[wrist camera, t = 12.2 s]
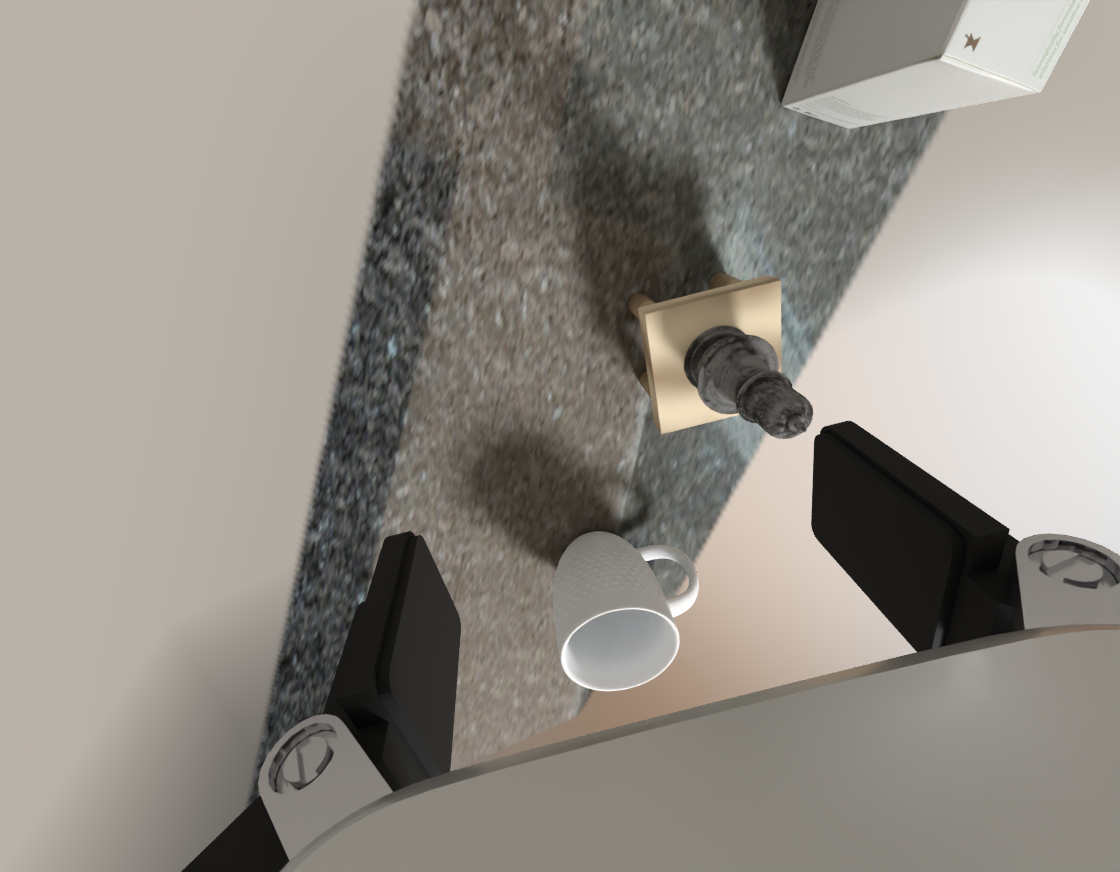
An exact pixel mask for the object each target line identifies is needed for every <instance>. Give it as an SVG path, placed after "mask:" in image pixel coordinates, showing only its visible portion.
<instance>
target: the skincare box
mask: <svg viewBox="0 0 1120 872" xmlns="http://www.w3.org/2000/svg"><path fill="white" fill-rule="evenodd" d="M1089 1H1090V0H818V2H817V5H816V8H815V10H814V13H813V16H812V19H811V21H810V24H809V27H808V30H807V33H806V35H805V38H804V41H803V44H802V47H801V49H800V52H799V55H798V58H797V61H796V63H795V66H794V69H793V72H792V75H791V78H790V80H789V83H788V86H787V89H786V92H785V95H784V98H783V101H782V106H783V107H786V108H789V109H791V110H794V111H797V112H800V113H803V114H806V115H809V116H812V117H815V118H818V119H821V120H824V121H827V122H830V123H833V124H836V125H839V126H842V127H845V128H848V129H850V128H856V127H860V126H866V125H871V124H876V123H882V122H887V121H892V120H898V119H903V118H908V117H913V116H918V115H923V114H928V113H933V112H939V111H944V110H949V109H954V108H960V107H965V106H970V105H976V104H981V103H986V102H991V101H996V100H1001V99H1005V98H1012V97H1017V96H1022V95H1028V94H1033V93H1038V92H1041V91H1042V89H1043V87H1044V85H1045V83H1046V81H1047V79H1048V77H1049V76H1050V74H1051V72H1052V70H1053V68H1054V66H1055V64H1056V62H1057V61H1058V59H1059V57H1060V55H1061V53H1062V51H1063V49H1064V47H1065V45H1066V44H1067V42H1068V40H1069V38H1070V36H1071V34H1072V32H1073V30H1074V29H1075V27H1076V25H1077V23H1078V21H1079V19H1080V17H1081V15H1082V14H1083V12H1084V10H1085V8H1086V6H1087V4H1088V3H1089Z"/></svg>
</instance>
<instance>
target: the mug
mask: <svg viewBox="0 0 1120 872" xmlns="http://www.w3.org/2000/svg"><path fill="white" fill-rule="evenodd" d="M659 558H667V559H672V560H674V561H676V562H678V563H679V564H680V565H681V566H682V567H683V568H684V569H685V571H686V572H687V574H688V577H689V586H688V589H687V590H686V591H685V592H684V593H682V594H680V595H677V596H673V597H665V596H664V594H663V591H662V588H661V587H660V585H659V583H658V580H657V579H656V577H655V576H654V573H653V571H652V570H651V568H650V567H649V565H648V563H647V562H646V561H648V560H652V559H659ZM698 589H699V580H698V575H697V571H696V569H695V567H694V565H693V563H692V561H691V560H690V559H689V557H688V556H687V555H686V554H685V553H683V552H682V551H681V550H679V549H677V548H675V547H673V546H668V545H652V546H646V547H641V548H637V549H635V548H634V547H633V546H632V545H631V544H630V543H628V542H627V541H626V540H624V539H622V538H621V537H619V536H617V535H615V534H612V533H609V532H604V531H595V532H589V533H586V534H583V535H581V536H579V537H578V538H576V539H575V540H574V541H573V542H572V543H571V544H570V545H569V546H568V547H567V549H566V550H565V552H564V553H563V555H562V556H561V559H560V561H559V563H558V567H557V569H556V574H555V580H554V584H553V607H554V623H555V628H556V637H557V644H558V649H559V657H560V662H561V665H562V668H563V670H564V671H565V673H566V674H567V675H568V676H569V677H570V678H571V679H572V680H573V681H574V682H576V683H577V684H579V685H581V686H583V687H586V688H589V689H593V690H599V691H616V690H624V689H629V688H632V687H636V686H639V685H641V684H644V683H646V682H648V681H650V680H651V679H653V678H655V677H656V676H658V675H659V674H660V673H662V672H663V671H664V670H665V669H666V668H667V667H668V666H669V664H670V663H671V662H672V661H673V659H674V657H675V655H676V653H677V651H678V647H679V633H678V630H677V627H676V624H675V621H674V619H673V617H675V616H677V615H680V614H682V613H683V612H685V611H686V610H687V609H689V608H690V607H691V606H692V605H693V603H694V601H695V600H696V597H697V595H698Z"/></svg>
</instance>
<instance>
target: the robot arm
mask: <svg viewBox="0 0 1120 872" xmlns="http://www.w3.org/2000/svg"><path fill="white" fill-rule="evenodd" d="M811 523H812V524H811V525H812V530H813V533H814V535H815V537H816V538H817V539H818V541H819V542H820V543H821V544H822V545H823V547H824V548H825V549H826V550H827V551H828V552H829V553H830V555H831V556H832V557H833V558H834V559H835V560H836V561H837V562H838V564H839V565H840V566H841V567H842V568H843V569H844V570H845V571H846V573H847V574H848V575H849V576H850V577H851V578H852V579H853V580H854V582H855V583H856V584H857V585H858V586H859V587H860V588H861V589H862V591H863V592H864V593H865V594H866V595H867V596H868V597H869V598H870V600H871V601H872V602H873V603H874V604H875V605H876V606H877V608H878V609H879V610H880V611H881V612H882V613H883V614H884V615H885V617H886V618H888V620H889V621H890V622H891V623H892V624H893V626H894V627H895V628H896V629H897V630H898V631H899V632H900V633H901V635H902V636H903V637H904V638H905V639H906V640H907V641H908V642H909V644H910V645H911V646H912V647H913V648H914V649H915V650H916V651H917V653H913V654H908V655H904V656H900V657H896V658H892V659H888V660H884V661H880V662H875V663H871V664H868V665H863V666H859V667H855V668H851V669H847V670H843V671H839V672H835V673H831V674H827V675H823V676H818V677H814V678H811V679H806V680H802V681H798V682H794V683H790V684H786V685H782V686H778V687H774V688H770V689H766V690H762V691H758V692H754V693H750V694H746V695H742V696H738V697H734V698H730V699H726V700H722V701H718V702H714V703H710V704H706V705H702V706H698V707H694V708H690V709H686V710H682V711H678V712H674V713H671V714H667V715H663V716H659V717H655V718H651V719H647V720H643V721H639V722H635V723H631V724H627V725H623V726H620V727H616V728H612V729H608V730H604V731H600V732H596V733H593V734H588V735H585V736H581V737H577V738H573V739H569V740H565V741H561V742H558V743H554V744H550V745H546V746H542V747H538V748H534V749H530V750H526V751H523V752H520V753H516V754H512V755H509V756H505V757H501V758H497V759H494V760H490V761H487V762H483V763H479V764H476V765H472V766H469V767H465V768H461V769H458V770H454V771H451V772H450V766H451V753H452V740H453V726H454V713H455V700H456V687H457V674H458V661H459V647H460V634H461V623H460V618H459V614H458V612H457V610H456V608H455V605H454V603H453V601H452V599H451V597H450V594H449V592H448V590H447V588H446V586H445V584H444V581H443V579H442V577H441V575H440V573H439V571H438V568H437V566H436V564H435V562H434V560H433V558H432V555H431V553H430V551H429V549H428V547H427V545H426V542H425V540H424V538H423V537H422V536H421V535H418V536H415V535H414V534H413V533H412V532H411V531H408V532H404V533H401V534H397V535H393V536H389V537H386V538H385V540H384V542H383V546H382V549H381V552H380V555H379V559H378V562H377V565H376V568H375V572H374V575H373V578H372V582H371V585H370V588H369V591H368V595H367V598H366V601H365V602H362V603H361V604H360V605H359V606H358V608H357V610H356V612H355V615H354V618H353V622H352V625H351V628H350V631H349V634H348V637H347V640H346V643H345V646H344V650H343V653H342V656H341V659H340V662H339V665H338V668H337V671H336V674H335V678H334V681H333V684H332V687H331V690H330V693H329V696H328V699H327V703H326V706H325V709H324V712H323V715H318V716H313V717H311V718H309V719H307V720H304V721H302V722H301V723H299V724H298V725H296V726H295V727H293V728H292V729H291V730H289V731H288V732H287V733H286V734H285V735H284V736H283V737H282V738H281V739H280V740H279V741H278V742H277V743H276V745H275V746H274V747H273V749H272V750H271V752H270V753H269V754H268V756H267V758H266V760H265V762H264V764H263V766H262V768H261V771H260V777H259V782H258V785H259V791H260V796H259V797H258V798H257V799H256V800H255V801H254V802H253V803H252V804H251V805H250V806H249V807H248V808H247V809H246V810H245V811H243V812H242V813H241V815H239V816H238V817H237V818H236V819H235V820H234V821H233V822H232V823H231V824H230V825H229V826H228V827H227V828H226V829H225V830H224V831H223V832H222V833H221V834H220V835H219V836H218V837H217V838H216V839H215V840H214V841H213V842H211V844H209V845H208V847H206V848H205V849H204V850H203V851H202V852H201V853H200V854H199V855H198V856H197V857H196V858H195V859H194V860H193V861H192V862H191V863H190V864H189V865H188V866H187V867H186V868H185V869H184V870H183V871H182V872H1120V556H1119V555H1118V554H1116V553H1114V552H1112V551H1111V550H1109V549H1107V548H1105V547H1103V546H1101V545H1099V544H1096V543H1093V542H1090V541H1088V540H1085V539H1081V538H1077V537H1072V536H1068V535H1059V534H1039V535H1033V536H1030V537H1027V538H1024V539H1023V540H1022V541H1020V542H1019V541H1018V540H1016V539H1015V538H1014V537H1012V536H1011V535H1009V534H1008V533H1009V528H1007V527H1006V526H1004V525H1003V524H1001V523H1000V522H998V521H997V520H995V519H994V518H993V517H991V516H990V515H988V514H987V513H985V512H984V511H982V510H981V509H979V508H978V507H976V506H975V505H973V504H972V503H971V502H969V501H968V500H966V499H965V498H963V497H962V496H960V495H959V494H958V493H956V492H955V491H953V490H952V489H950V488H949V487H947V486H946V485H944V484H943V483H941V482H940V481H939V480H937V479H936V478H934V477H932V476H931V475H930V474H928V473H927V472H925V471H924V470H923V469H921V468H920V467H918V466H917V465H915V464H914V463H912V462H910V461H909V460H908V459H906V458H905V457H903V456H902V455H901V454H899V453H898V452H896V451H895V450H893V449H892V448H890V447H889V446H888V445H886V444H884V443H883V442H882V441H880V440H879V439H877V438H876V437H874V436H873V435H871V434H870V433H869V432H867V431H865V430H864V429H863V428H861V427H860V426H858V425H857V424H855V423H853V422H852V421H845V422H841V423H837V424H833V425H829V426H825V427H823V428H822V430H821V431H820V434H819V435H817V436H816V437H815V440H814V463H813V492H812V521H811Z"/></svg>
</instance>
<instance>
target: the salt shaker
mask: <svg viewBox="0 0 1120 872" xmlns="http://www.w3.org/2000/svg"><path fill="white" fill-rule="evenodd" d="M684 370H685V373H686V377H687V378H688V380H689V382H690V383H691V384H692V385H693V386H694V387H696V388H697V390H698V393H699V396H700V398H701V400H702V401H703V403H704V404H705V405H706V406H707V407H709V408H710V409H711V410H713V411H715V412H718V413H720V414H730V415H731V414H737V413H739V414H740V416H741V417H742V418H743V419H745V420H746V421H749V422H751V423H758V424H759V425H760V426H761V427H762V428H763V429H764V430H765V431H766V432H767V433H769V434H770V435H771V436H773V437H776V438H779V439H788V438H793V437H795V436H798V435H799V434H801V433H803V432H805V431H806V430H807V428H808V426H809V425H810V423H811V420H812V416H813V408H812V406H811V404H810V402H809V401H808V400H807V399H806V398H805V397H804V396H803V395H801V394H800V393H798V392H797V391H796V390H794V389H793V388H792V384H791V382H790V380H789V378H788V377H786V376H785V375H784V374H782V373H780V372H778V370H779V362H778V356H777V354H776V352H775V350H774V348H773V347H772V346H771V345H770V344H769V343H768V342H767V341H766V340H764V339H762V338H760V337H758V336H754V335H747V334H744V333H743V332H742V331H741V330H739V329H737V328H735V327H733V326H726V325H723V326H715V327H713V328H710V329H708V330H706V331H704V332H703V333H701V334H700V335H699V336H698V337H697V338H696V339H695V340H694V341H693V342H692V343H691V345H690V347H689V348H688V350H687V353H686V356H685V360H684Z"/></svg>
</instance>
